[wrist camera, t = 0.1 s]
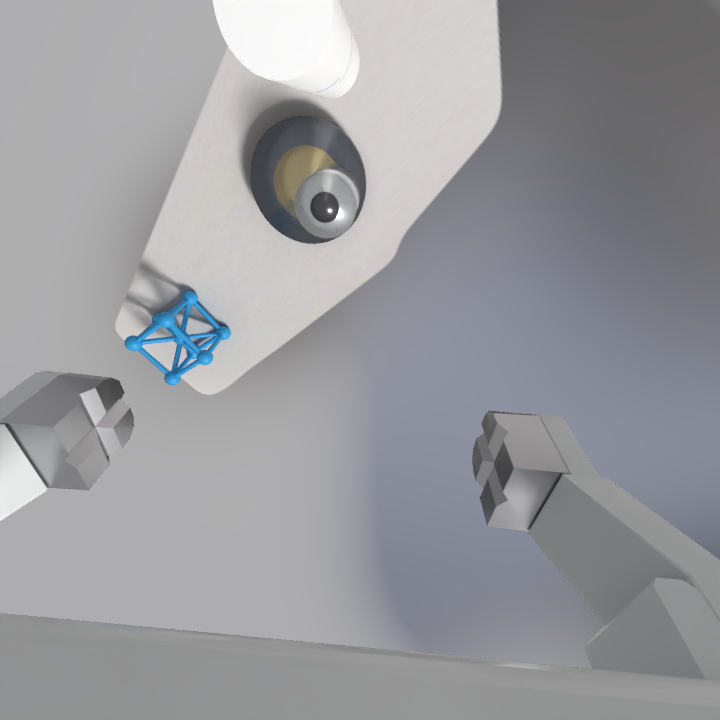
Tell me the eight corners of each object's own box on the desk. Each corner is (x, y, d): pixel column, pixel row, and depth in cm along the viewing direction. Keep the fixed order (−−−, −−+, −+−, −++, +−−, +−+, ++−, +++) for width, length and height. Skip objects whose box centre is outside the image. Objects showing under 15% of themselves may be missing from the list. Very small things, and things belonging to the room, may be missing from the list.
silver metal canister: (306, 161, 46) (292, 169, 38) (362, 166, 46) (357, 175, 38) (307, 219, 49) (294, 236, 42) (358, 224, 49) (353, 242, 42)
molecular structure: (196, 356, 67) (169, 390, 59) (153, 314, 62) (117, 344, 54) (235, 331, 63) (212, 363, 55) (192, 285, 59) (160, 313, 51)
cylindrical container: (286, 47, 42) (186, -24, 21) (337, 2, 39) (284, -128, 19) (320, 111, 45) (264, 106, 24) (370, 74, 42) (355, 32, 22)
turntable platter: (248, 110, 44) (245, 110, 43) (371, 121, 44) (370, 121, 43) (258, 236, 52) (255, 238, 51) (361, 245, 52) (361, 248, 51)
